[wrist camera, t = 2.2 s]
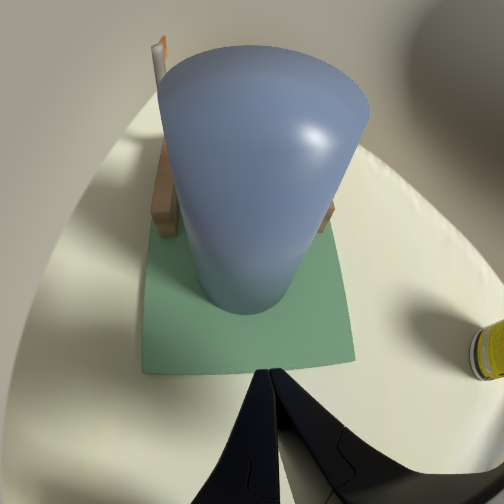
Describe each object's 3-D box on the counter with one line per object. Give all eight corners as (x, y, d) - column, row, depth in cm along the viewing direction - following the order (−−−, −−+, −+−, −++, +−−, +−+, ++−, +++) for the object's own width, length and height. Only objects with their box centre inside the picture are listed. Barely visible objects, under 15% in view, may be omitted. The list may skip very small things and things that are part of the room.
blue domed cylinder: (308, 267, 19) (396, 99, 7) (248, 335, 17) (289, 196, 5) (241, 214, 20) (254, 35, 9) (179, 271, 18) (118, 90, 7)
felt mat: (351, 361, 17) (355, 360, 16) (145, 373, 16) (142, 372, 15) (307, 146, 25) (308, 141, 25) (166, 147, 24) (165, 142, 24)
